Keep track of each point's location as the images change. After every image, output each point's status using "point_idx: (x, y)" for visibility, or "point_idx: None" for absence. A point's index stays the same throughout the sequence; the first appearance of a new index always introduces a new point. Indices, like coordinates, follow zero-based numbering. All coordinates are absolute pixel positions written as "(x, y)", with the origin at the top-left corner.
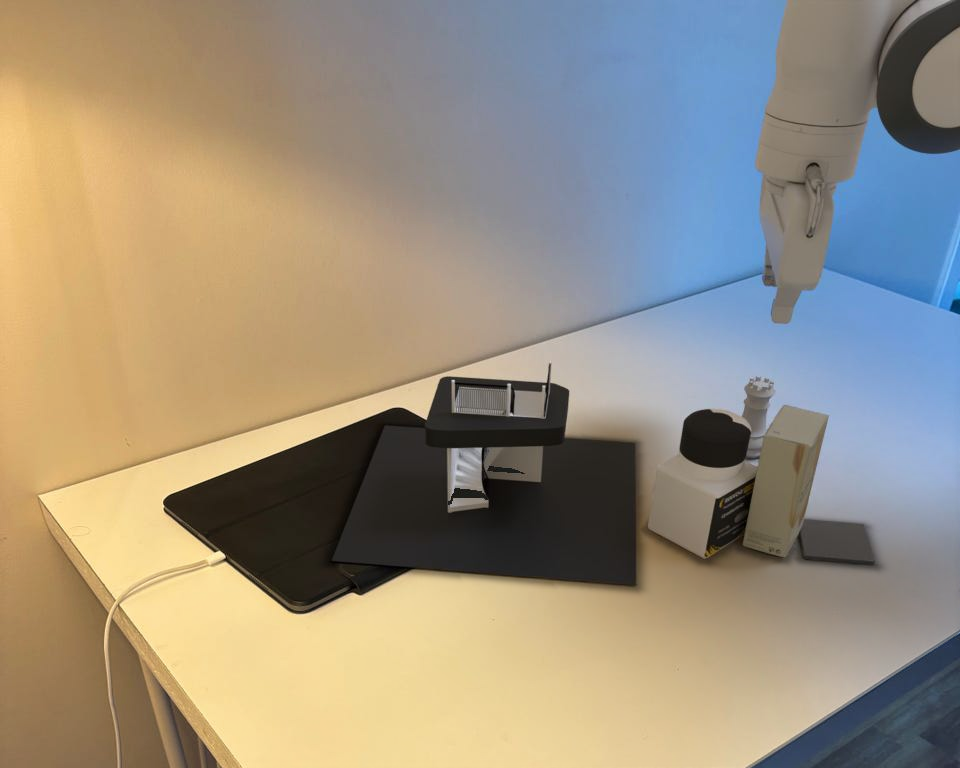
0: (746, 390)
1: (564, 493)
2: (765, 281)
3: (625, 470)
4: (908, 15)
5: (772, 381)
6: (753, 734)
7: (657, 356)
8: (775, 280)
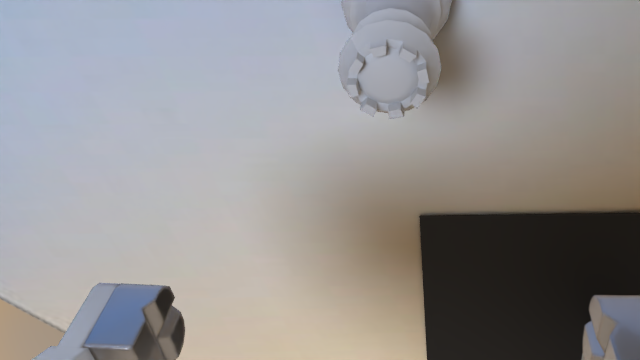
0: (407, 109)
1: None
2: (177, 343)
3: (540, 229)
4: None
5: (380, 50)
6: None
7: (15, 180)
8: (161, 319)
